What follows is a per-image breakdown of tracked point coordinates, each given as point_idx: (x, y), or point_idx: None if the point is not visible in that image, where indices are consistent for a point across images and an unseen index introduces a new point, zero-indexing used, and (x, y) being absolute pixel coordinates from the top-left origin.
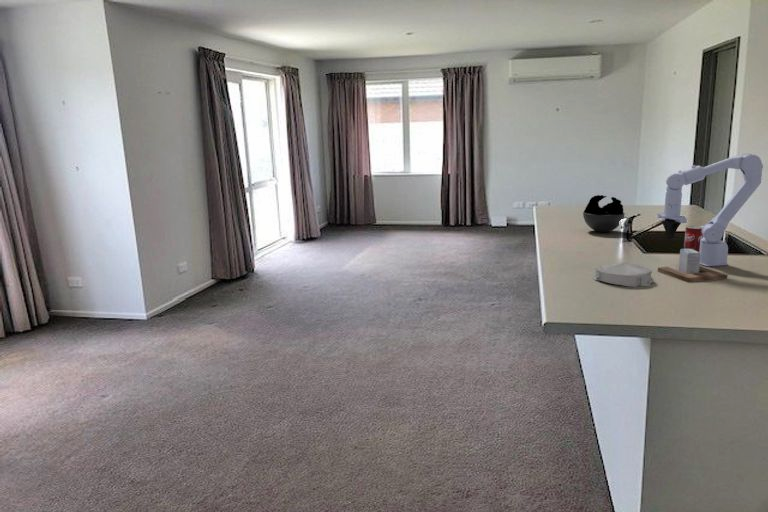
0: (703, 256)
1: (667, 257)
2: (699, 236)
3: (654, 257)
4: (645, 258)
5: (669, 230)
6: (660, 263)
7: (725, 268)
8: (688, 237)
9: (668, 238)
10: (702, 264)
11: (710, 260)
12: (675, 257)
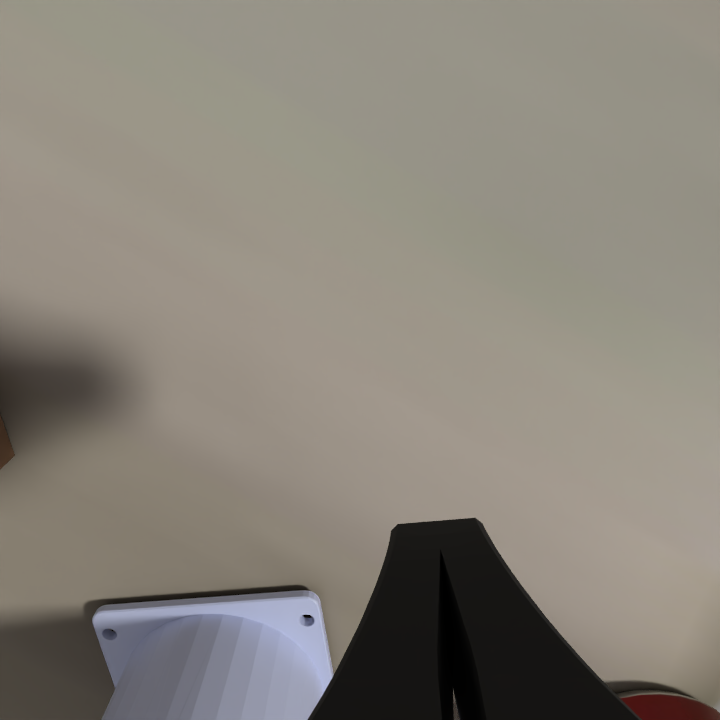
0: (149, 688)
1: (632, 473)
2: None
3: (689, 318)
4: (675, 152)
5: (327, 696)
6: (319, 198)
7: (36, 706)
8: None
9: (402, 527)
10: (159, 603)
11: (113, 694)
12: (601, 554)
